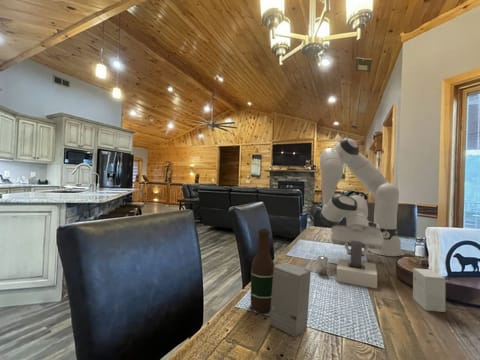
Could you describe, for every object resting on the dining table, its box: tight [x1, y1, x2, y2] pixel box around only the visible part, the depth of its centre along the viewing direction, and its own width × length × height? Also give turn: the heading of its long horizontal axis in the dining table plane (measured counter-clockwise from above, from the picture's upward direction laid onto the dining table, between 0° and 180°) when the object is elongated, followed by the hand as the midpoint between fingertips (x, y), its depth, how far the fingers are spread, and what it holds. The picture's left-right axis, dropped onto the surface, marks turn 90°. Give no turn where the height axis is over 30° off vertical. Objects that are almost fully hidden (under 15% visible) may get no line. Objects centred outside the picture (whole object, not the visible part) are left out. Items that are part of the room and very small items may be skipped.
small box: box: [412, 268, 446, 313], centre depth 79 cm, size 8×6×10 cm
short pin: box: [317, 255, 329, 276], centre depth 105 cm, size 4×4×7 cm
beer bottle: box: [250, 228, 276, 314], centre depth 76 cm, size 8×8×24 cm
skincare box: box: [269, 262, 312, 338], centre depth 67 cm, size 8×7×16 cm
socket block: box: [336, 258, 378, 289], centre depth 101 cm, size 14×14×5 cm
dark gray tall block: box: [350, 241, 363, 269], centre depth 101 cm, size 4×4×12 cm
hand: (356, 255), depth 100 cm, fingers closed on dark gray tall block, 4 cm apart
